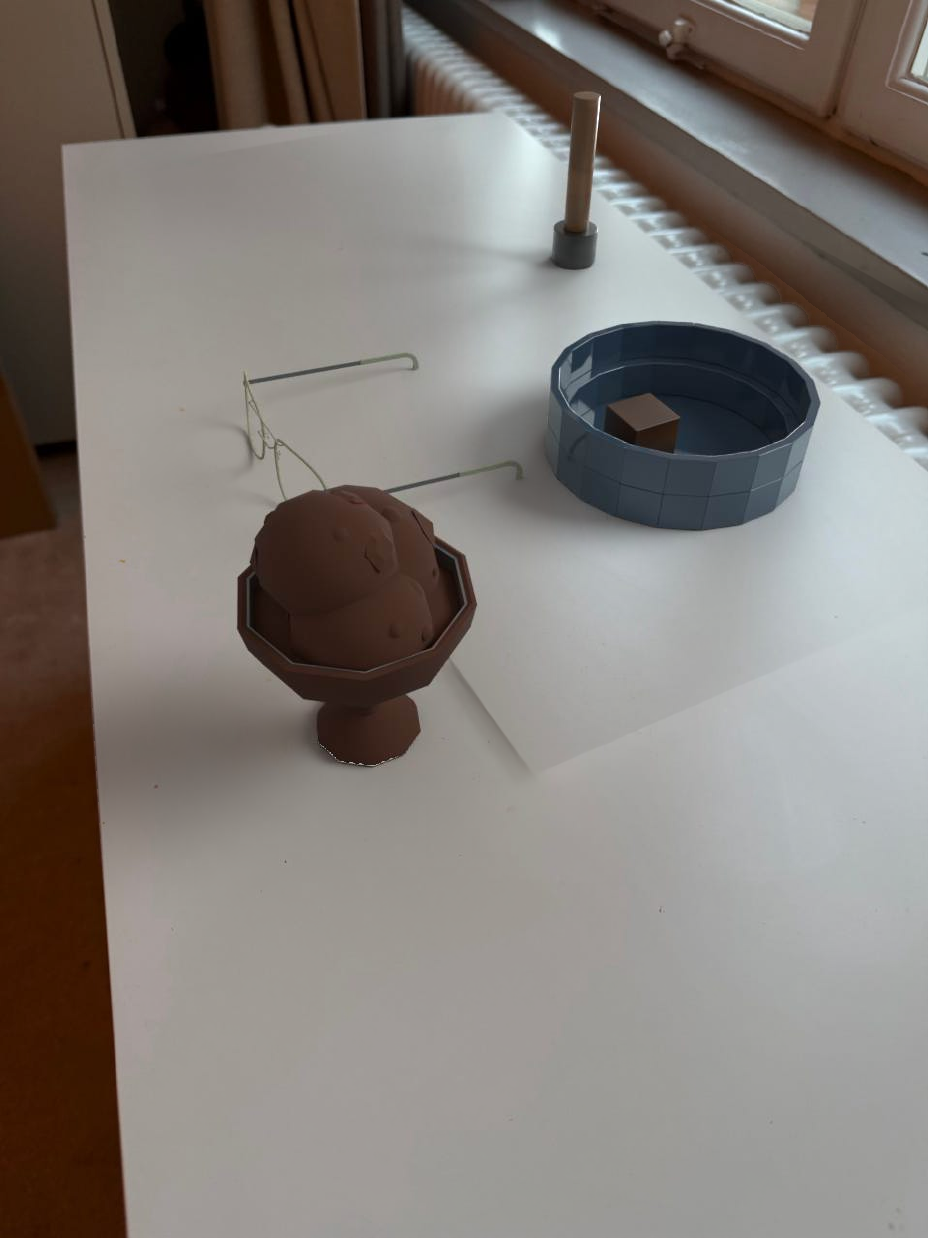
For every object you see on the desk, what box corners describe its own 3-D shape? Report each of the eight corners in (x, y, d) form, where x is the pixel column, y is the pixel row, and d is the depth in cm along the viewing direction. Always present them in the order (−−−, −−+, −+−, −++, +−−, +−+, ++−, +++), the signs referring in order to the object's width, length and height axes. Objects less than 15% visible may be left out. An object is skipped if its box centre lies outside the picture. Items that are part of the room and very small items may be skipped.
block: (642, 435, 70) (649, 391, 67) (672, 461, 68) (680, 417, 65) (600, 448, 69) (606, 404, 66) (630, 475, 66) (636, 430, 64)
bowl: (733, 382, 76) (749, 309, 72) (843, 519, 64) (869, 441, 60) (517, 408, 74) (520, 334, 69) (589, 556, 62) (598, 477, 57)
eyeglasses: (231, 425, 72) (220, 363, 68) (418, 376, 77) (416, 315, 73) (314, 553, 62) (306, 487, 58) (523, 486, 67) (526, 422, 63)
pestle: (587, 248, 94) (602, 85, 84) (600, 266, 91) (618, 101, 81) (546, 252, 93) (556, 89, 83) (558, 270, 90) (571, 104, 80)
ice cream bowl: (457, 824, 47) (458, 592, 37) (231, 792, 49) (171, 559, 38) (488, 664, 55) (496, 433, 45) (292, 640, 56) (255, 410, 46)
